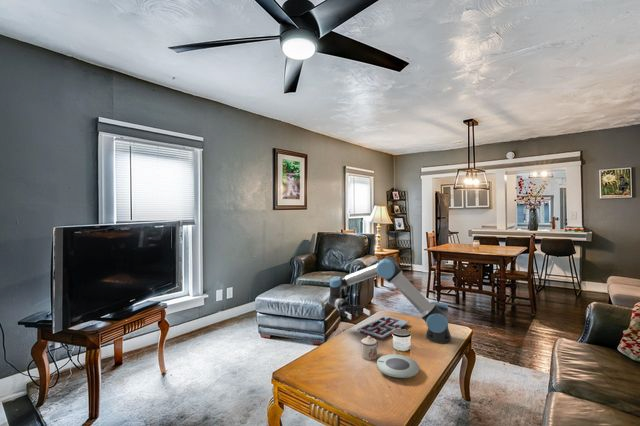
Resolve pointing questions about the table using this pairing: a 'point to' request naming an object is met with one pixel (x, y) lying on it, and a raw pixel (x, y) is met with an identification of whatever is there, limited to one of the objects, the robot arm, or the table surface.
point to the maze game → (382, 327)
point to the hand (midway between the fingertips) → (360, 315)
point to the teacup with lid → (369, 348)
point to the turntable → (397, 366)
